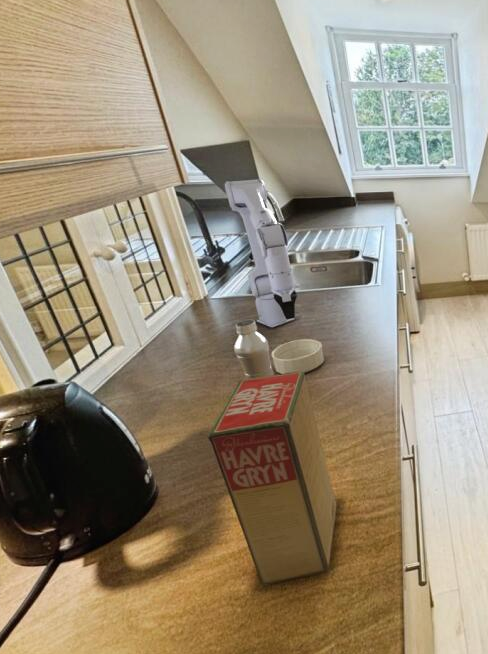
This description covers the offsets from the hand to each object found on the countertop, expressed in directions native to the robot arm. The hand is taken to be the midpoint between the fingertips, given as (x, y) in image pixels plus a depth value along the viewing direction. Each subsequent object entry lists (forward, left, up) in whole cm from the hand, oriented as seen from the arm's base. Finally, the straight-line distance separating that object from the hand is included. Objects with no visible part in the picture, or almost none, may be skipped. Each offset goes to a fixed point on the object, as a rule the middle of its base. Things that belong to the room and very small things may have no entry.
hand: (290, 318), depth 125 cm
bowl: (+11, -6, -9) cm, 15 cm away
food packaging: (+61, -38, -9) cm, 73 cm away
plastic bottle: (+21, -21, -9) cm, 31 cm away
